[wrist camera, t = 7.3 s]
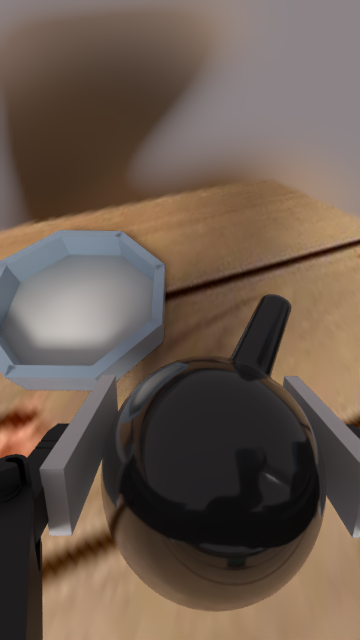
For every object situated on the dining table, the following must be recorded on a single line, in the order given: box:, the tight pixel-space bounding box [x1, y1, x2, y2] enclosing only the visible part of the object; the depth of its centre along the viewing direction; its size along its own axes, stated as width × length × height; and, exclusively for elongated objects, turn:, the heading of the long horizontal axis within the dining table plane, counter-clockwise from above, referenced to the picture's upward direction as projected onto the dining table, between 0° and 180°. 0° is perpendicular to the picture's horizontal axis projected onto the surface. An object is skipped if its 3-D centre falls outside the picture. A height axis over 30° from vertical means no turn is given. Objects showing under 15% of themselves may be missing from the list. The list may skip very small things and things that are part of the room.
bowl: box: [0, 230, 166, 391], centre depth 26 cm, size 17×17×4 cm
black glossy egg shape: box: [101, 294, 326, 612], centre depth 12 cm, size 10×10×15 cm
